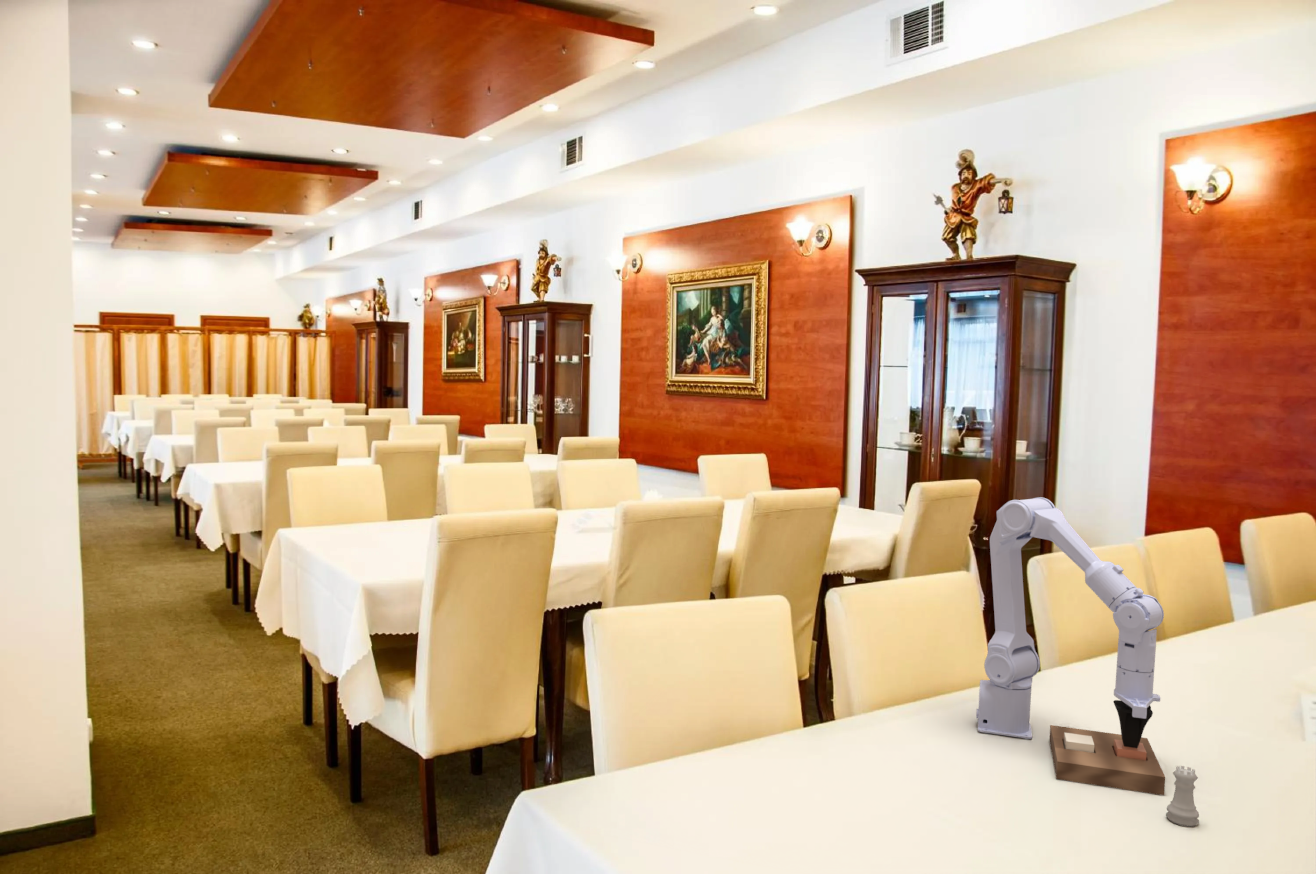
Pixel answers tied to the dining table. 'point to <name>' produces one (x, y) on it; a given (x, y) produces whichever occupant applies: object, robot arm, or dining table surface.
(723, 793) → the dining table surface
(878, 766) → the dining table surface
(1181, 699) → the dining table surface
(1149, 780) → the key panel
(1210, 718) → the dining table surface
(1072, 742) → the ivory key
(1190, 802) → the rook chess piece
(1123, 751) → the terracotta key
